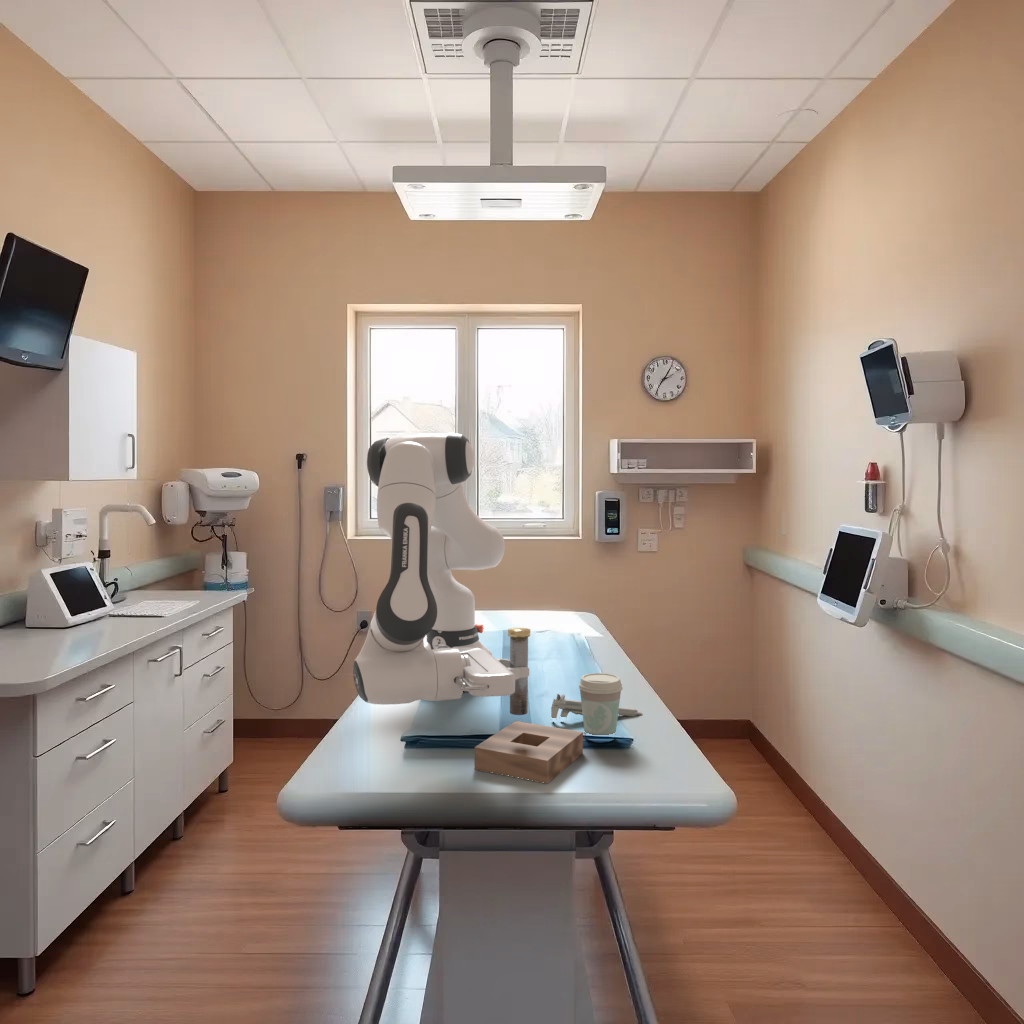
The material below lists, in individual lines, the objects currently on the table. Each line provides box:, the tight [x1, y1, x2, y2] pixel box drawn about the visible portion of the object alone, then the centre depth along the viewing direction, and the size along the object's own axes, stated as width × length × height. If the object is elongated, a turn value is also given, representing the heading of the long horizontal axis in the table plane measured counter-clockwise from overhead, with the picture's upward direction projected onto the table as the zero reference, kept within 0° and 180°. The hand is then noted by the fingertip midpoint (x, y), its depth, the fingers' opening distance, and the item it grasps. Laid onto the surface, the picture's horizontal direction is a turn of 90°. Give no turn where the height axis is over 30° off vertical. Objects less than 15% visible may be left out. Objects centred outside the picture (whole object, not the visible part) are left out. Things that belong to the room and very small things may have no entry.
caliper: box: [550, 693, 643, 719], centre depth 171 cm, size 20×1×6 cm, turn 108°
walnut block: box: [473, 720, 584, 784], centre depth 147 cm, size 16×14×4 cm
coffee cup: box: [577, 672, 624, 735], centre depth 159 cm, size 8×8×12 cm
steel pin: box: [507, 627, 531, 716], centre depth 146 cm, size 4×4×15 cm
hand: (523, 667), depth 147 cm, fingers closed on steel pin, 3 cm apart
